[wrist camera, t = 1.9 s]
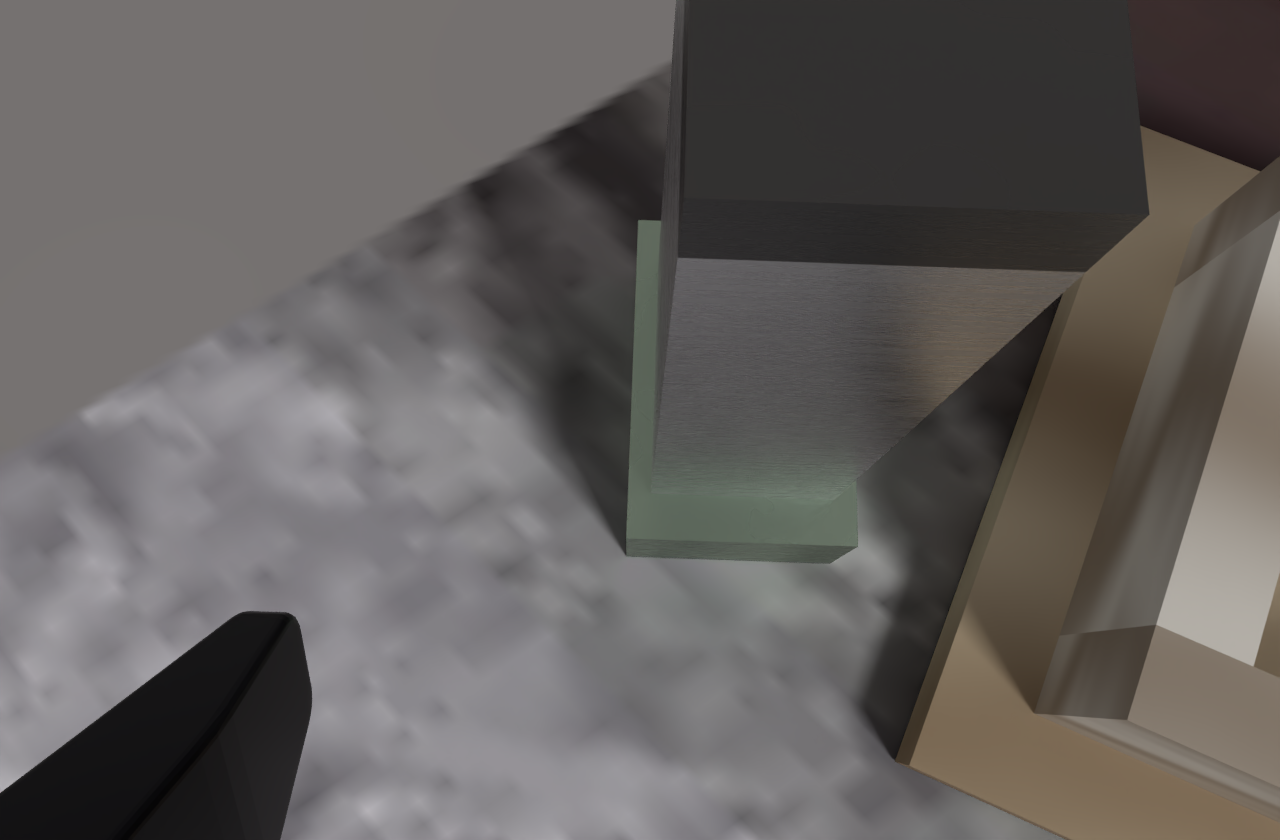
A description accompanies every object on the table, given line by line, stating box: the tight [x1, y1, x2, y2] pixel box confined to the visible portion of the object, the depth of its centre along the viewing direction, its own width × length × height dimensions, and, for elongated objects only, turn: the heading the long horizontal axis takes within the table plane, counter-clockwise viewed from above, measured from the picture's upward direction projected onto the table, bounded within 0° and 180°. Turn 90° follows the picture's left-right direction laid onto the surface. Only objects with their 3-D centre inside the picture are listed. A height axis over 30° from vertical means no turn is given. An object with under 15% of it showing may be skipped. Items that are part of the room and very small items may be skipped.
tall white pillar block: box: [626, 0, 1150, 564], centre depth 14 cm, size 6×4×14 cm, turn 178°
